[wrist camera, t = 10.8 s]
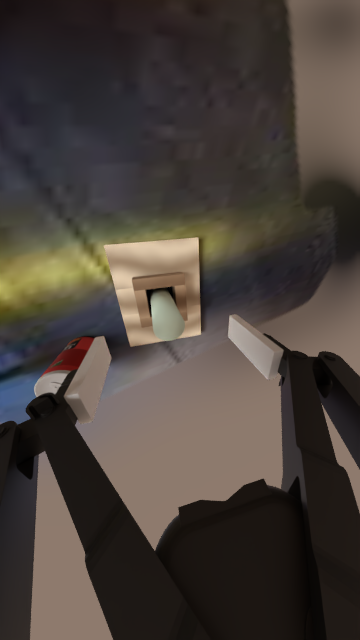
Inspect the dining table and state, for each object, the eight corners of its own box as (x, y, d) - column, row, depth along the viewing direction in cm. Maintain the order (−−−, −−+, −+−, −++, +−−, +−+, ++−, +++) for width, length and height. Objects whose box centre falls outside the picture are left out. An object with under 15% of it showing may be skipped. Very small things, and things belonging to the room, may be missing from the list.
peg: (148, 287, 31) (150, 314, 18) (168, 285, 31) (183, 309, 19) (151, 306, 32) (155, 343, 20) (170, 304, 33) (185, 337, 20)
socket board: (105, 245, 26) (99, 244, 23) (196, 237, 29) (203, 236, 25) (130, 343, 35) (129, 354, 31) (199, 332, 37) (204, 340, 34)
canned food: (75, 329, 31) (42, 366, 21) (114, 344, 34) (101, 382, 24) (61, 357, 33) (26, 403, 23) (99, 369, 36) (82, 414, 26)
